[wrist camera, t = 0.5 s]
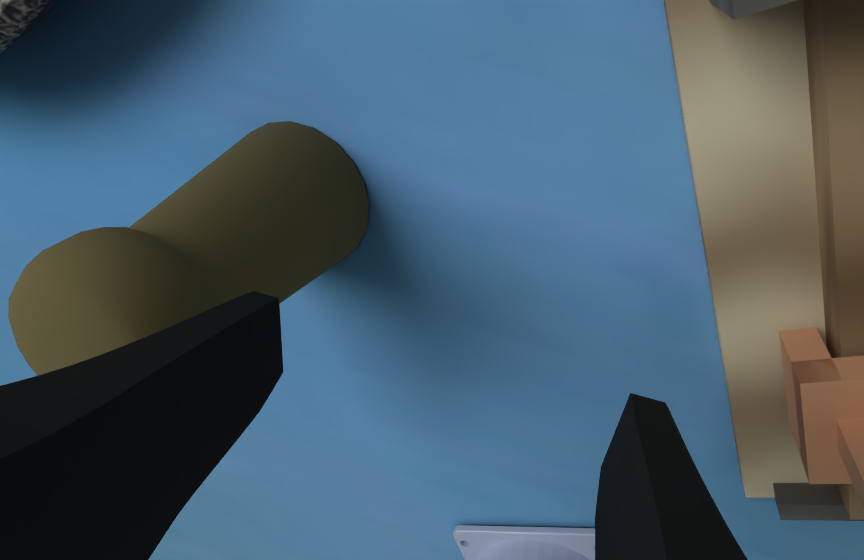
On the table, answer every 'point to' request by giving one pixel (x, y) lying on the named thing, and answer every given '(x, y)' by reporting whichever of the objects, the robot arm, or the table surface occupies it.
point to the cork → (195, 248)
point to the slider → (825, 409)
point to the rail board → (777, 208)
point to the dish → (20, 18)
